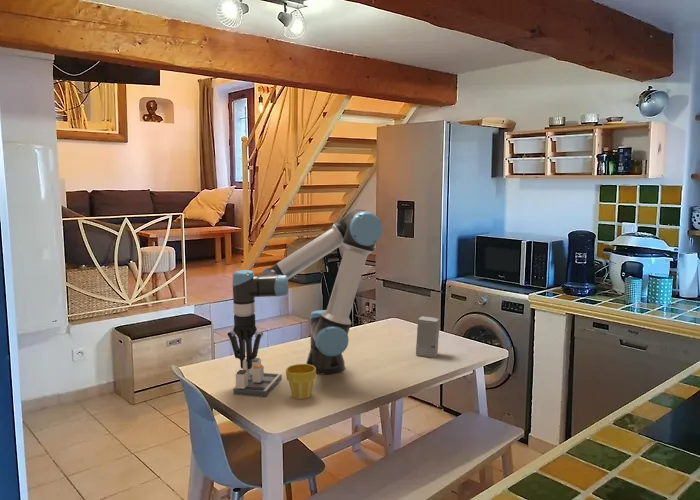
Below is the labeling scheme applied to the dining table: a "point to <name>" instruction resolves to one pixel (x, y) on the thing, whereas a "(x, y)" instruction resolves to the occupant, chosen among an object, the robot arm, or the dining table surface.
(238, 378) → the breaker
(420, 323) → the skincare box
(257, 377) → the block
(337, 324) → the robot arm
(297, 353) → the dining table surface
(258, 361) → the block
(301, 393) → the plant pot
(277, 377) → the panel
